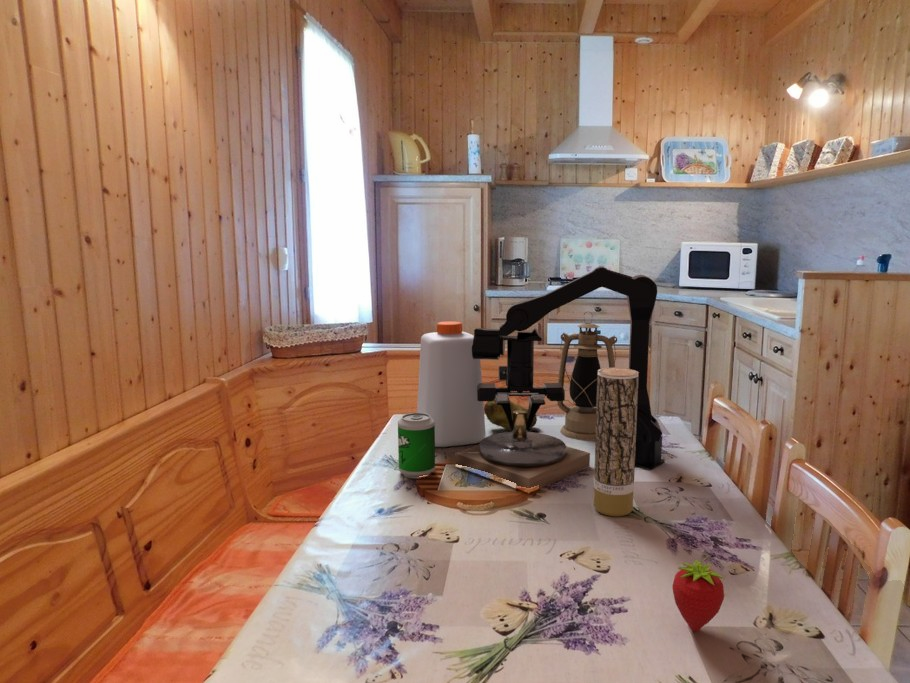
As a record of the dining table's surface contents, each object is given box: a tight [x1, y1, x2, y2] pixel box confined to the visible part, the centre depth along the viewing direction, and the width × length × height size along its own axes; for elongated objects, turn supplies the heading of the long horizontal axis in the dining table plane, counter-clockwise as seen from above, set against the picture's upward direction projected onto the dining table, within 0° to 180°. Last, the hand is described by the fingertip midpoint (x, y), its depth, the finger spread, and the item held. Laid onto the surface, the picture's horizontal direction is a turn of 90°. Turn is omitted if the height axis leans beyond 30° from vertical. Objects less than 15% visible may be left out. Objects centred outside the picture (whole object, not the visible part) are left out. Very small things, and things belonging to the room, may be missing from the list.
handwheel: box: [479, 410, 567, 467], centre depth 132 cm, size 18×18×6 cm
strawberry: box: [671, 556, 726, 632], centre depth 77 cm, size 6×8×10 cm
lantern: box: [556, 311, 618, 441], centre depth 154 cm, size 14×12×30 cm
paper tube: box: [593, 367, 639, 517], centre depth 110 cm, size 7×7×25 cm
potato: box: [484, 398, 538, 431], centre depth 158 cm, size 8×13×8 cm, turn 74°
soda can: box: [397, 412, 436, 479], centre depth 129 cm, size 8×8×12 cm
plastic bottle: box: [416, 320, 487, 448], centre depth 151 cm, size 15×15×28 cm
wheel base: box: [454, 444, 591, 490], centre depth 133 cm, size 20×20×3 cm
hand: (519, 430), depth 139 cm, fingers closed on handwheel, 3 cm apart
